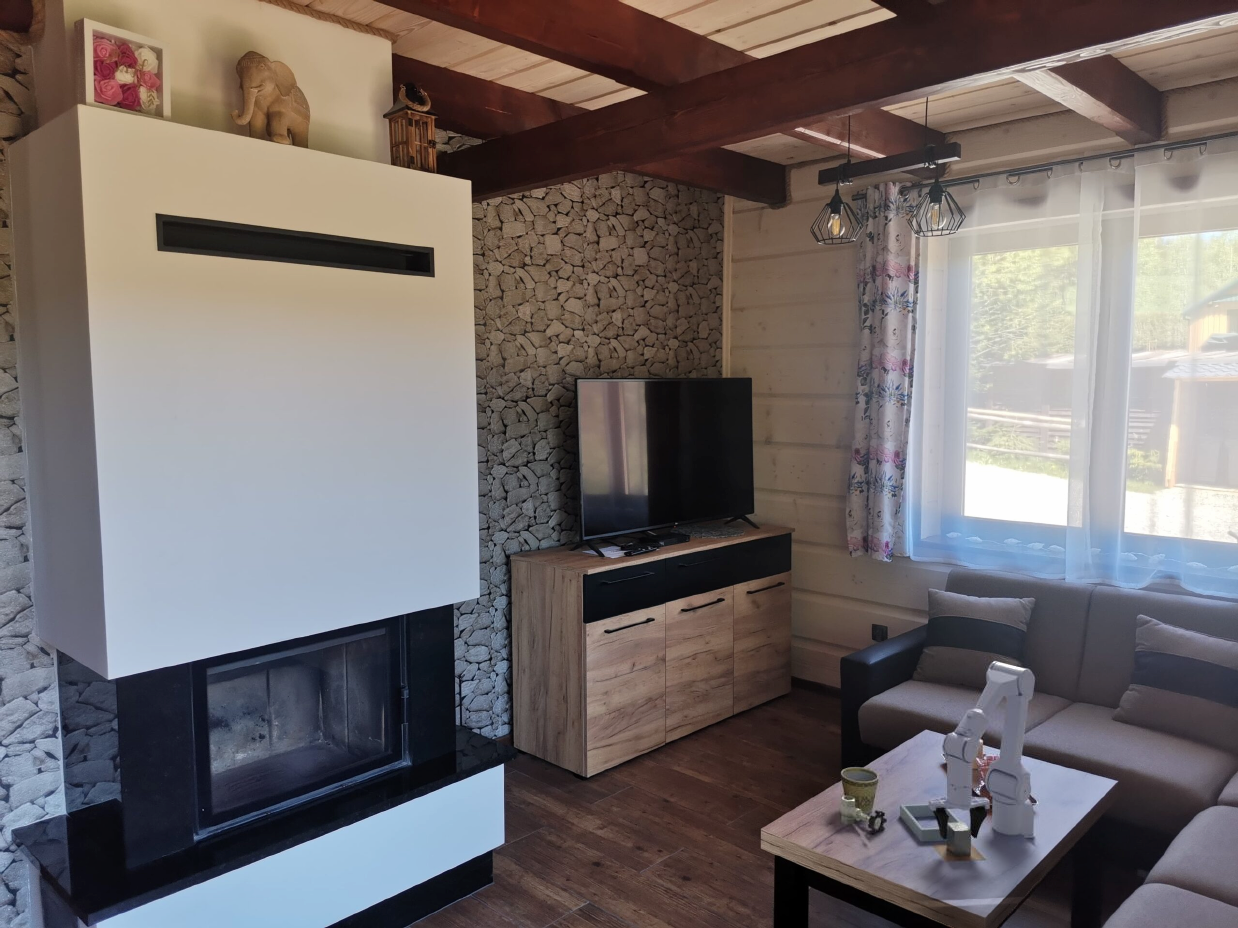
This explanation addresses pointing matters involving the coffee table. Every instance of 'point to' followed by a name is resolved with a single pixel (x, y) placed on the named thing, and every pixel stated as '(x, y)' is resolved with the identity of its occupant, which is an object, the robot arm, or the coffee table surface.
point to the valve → (860, 815)
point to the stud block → (949, 857)
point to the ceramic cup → (860, 786)
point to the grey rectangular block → (958, 839)
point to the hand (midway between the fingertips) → (958, 836)
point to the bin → (918, 811)
